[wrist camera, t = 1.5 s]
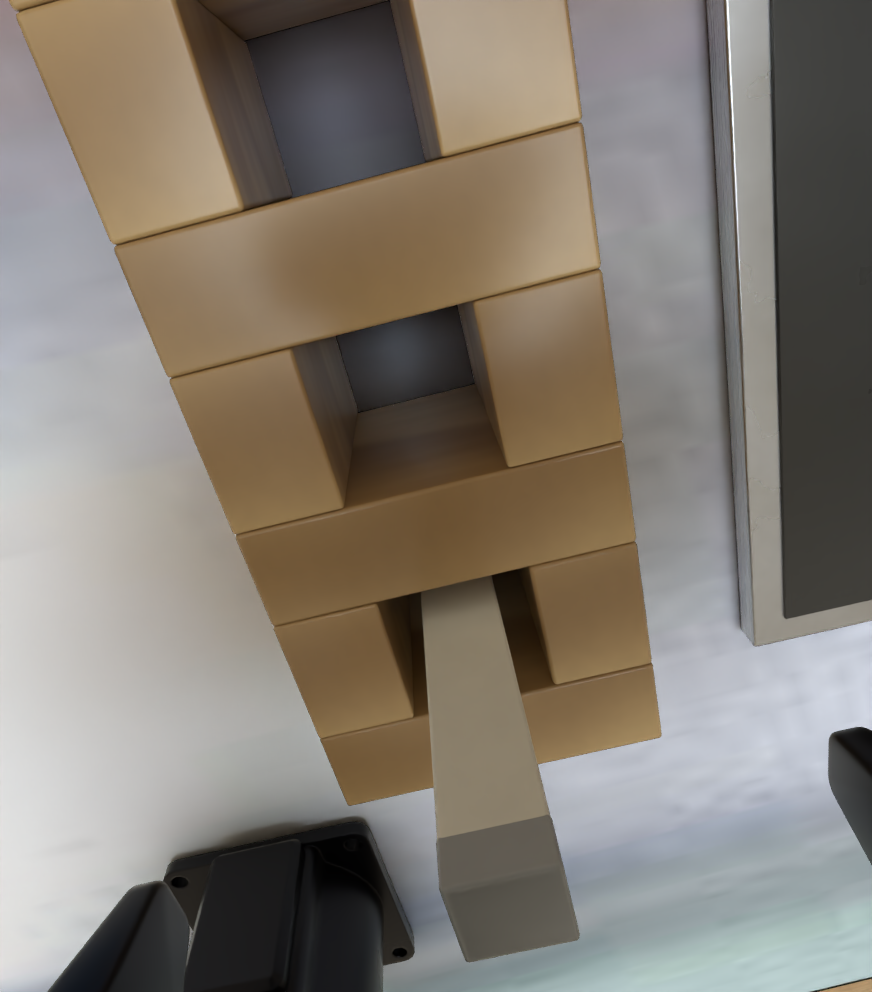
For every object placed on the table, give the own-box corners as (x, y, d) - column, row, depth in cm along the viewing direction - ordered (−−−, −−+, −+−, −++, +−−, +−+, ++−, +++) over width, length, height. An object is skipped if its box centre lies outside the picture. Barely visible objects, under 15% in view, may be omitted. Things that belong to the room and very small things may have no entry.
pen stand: (595, 597, 18) (663, 738, 14) (358, 652, 19) (347, 807, 14) (470, -165, 12) (519, -382, 7) (101, -58, 12) (-78, -199, 7)
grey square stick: (482, 538, 17) (581, 941, 8) (427, 551, 17) (465, 965, 8) (470, 488, 17) (562, 864, 8) (413, 502, 17) (438, 890, 8)
